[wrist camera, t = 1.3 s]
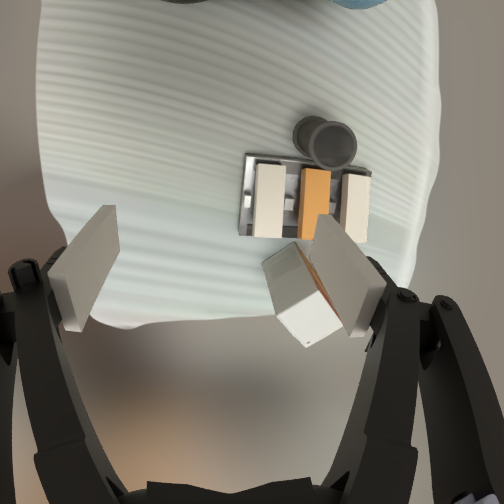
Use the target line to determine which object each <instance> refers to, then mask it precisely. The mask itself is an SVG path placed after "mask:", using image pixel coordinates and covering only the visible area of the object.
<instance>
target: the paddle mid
mask: <svg viewBox="0 0 504 504" xmlns="http://www.w3.org/2000/svg"><path fill="white" fill-rule="evenodd" d="M330 181H331V171H325V170H318V169H309V168H305V169H302V170H301V187H300V203H299V218H298V233H297V238H300V239H306V240H313V238H314V233H315V228H316V223H317V218H318V214H326V215H328V214H329V199H330Z"/></svg>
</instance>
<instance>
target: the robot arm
mask: <svg viewBox="0 0 504 504" xmlns="http://www.w3.org/2000/svg"><path fill="white" fill-rule="evenodd" d="M163 1H166V2H171V3H179V4H189V3H198V2H203V1H207V0H163ZM329 1H332V2H334V3H336V4H338V5H340V6H342V7H345V8H348V9H367V8H371V7H374V6H377V5H379V4H381V3H383V2H385V1H387V0H329ZM119 252H120V246H119V237H118V227H117V216H116V205H102V207H101V208H100V209H99V210H98V211H97V212H96V213H95V214H94V216H93V217H92V218H91V219H90V220H89V221H88V222H87V224H86V225H85V226H84V227H83V228H82V230H81V231H80V232H79V233H78V234H77V236H76V237H75V238H74V239H73V240H72V242H71V243H70V244H69V245H68V247H61V248H60V249H58V250H57V251H56V252H54V253H53V255H52V256H51V257H50V259H49V260H48V261H47V262H46V264H45V265H44V266H43V267H42V269H41V270H40V269H39V266H38V263H37V261H36V260H34V259H23V260H20V261H18V262H16V263H14V264H13V265H12V266H11V267H10V268H9V270H8V274H9V277H10V280H11V283H12V286H13V289H14V292H10V293H3V294H1V291H0V504H16V500H15V488H14V478H13V464H12V408H13V394H14V383H15V374H16V366H17V359H19V366H20V373H21V379H22V385H23V391H24V396H25V401H26V406H27V410H28V415H29V419H30V422H31V427H32V430H33V434H34V438H35V441H36V445H37V449H38V453H36V454H34V463H35V467H36V470H37V472H38V476H39V478H40V481H41V484H42V487H43V489H44V492H45V494H46V497H47V499H48V502H49V504H408V503H409V499H410V494H411V490H412V485H413V480H414V475H415V471H416V465H417V459H418V451H417V448H415V447H412V446H411V436H412V430H413V423H414V415H415V406H416V397H417V386H418V382H419V387H420V392H421V398H422V404H423V409H424V416H425V422H426V429H427V437H428V445H429V454H430V463H431V476H432V490H433V499H434V504H504V418H503V415H502V411H501V408H500V405H499V402H498V399H497V396H496V393H495V390H494V387H493V385H492V382H491V379H490V376H489V374H488V372H487V369H486V366H485V364H484V361H483V359H482V356H481V354H480V351H479V349H478V347H477V344H476V342H475V340H474V338H473V336H472V333H471V331H470V329H469V327H468V325H467V323H466V320H465V318H464V316H463V314H462V312H461V310H460V308H459V306H458V305H457V304H456V302H455V301H453V299H451V298H449V297H447V296H443V295H437V296H435V298H434V300H433V302H432V304H428V303H423V302H419V298H418V297H417V295H416V294H415V293H413V292H412V291H410V290H408V289H406V288H401V287H397V285H396V284H395V283H394V282H393V280H392V279H391V278H390V277H389V275H388V274H387V273H386V272H385V270H384V269H383V268H382V267H381V266H380V264H379V263H378V262H377V261H375V260H374V259H372V258H371V257H369V256H365V255H364V254H363V252H362V251H361V250H360V249H359V247H358V246H357V245H356V244H355V243H354V241H353V240H352V239H351V238H350V237H349V235H348V234H347V233H346V232H345V231H344V229H343V228H342V227H341V226H340V225H339V224H338V222H337V221H336V220H335V219H334V218H333V217H332V215H326V214H318V218H317V223H316V228H315V233H314V238H313V243H312V247H311V252H310V257H309V258H310V260H311V262H312V264H313V266H314V267H315V269H316V271H317V273H318V275H319V277H320V279H321V281H322V283H323V285H324V287H325V289H326V291H327V293H328V295H329V297H330V299H331V301H332V303H333V305H334V307H335V309H336V311H337V313H338V315H339V317H340V319H341V321H342V323H343V325H344V327H345V329H346V331H347V333H348V335H349V337H360V336H365V335H366V333H367V330H368V328H369V326H371V328H372V329H373V331H374V332H373V335H372V337H371V339H370V341H369V343H368V345H367V347H366V349H365V352H367V351H368V352H367V356H366V360H365V364H364V368H363V371H362V375H361V379H360V382H359V386H358V390H357V393H356V397H355V400H354V403H353V406H352V410H351V413H350V416H349V419H348V422H347V425H346V428H345V431H344V434H343V437H342V440H341V443H340V445H339V448H338V451H337V453H336V456H335V459H334V461H333V464H332V466H331V469H330V471H329V473H328V475H327V476H326V478H325V479H324V481H323V483H322V484H321V486H319V485H312V482H311V478H310V477H307V478H300V479H293V480H286V481H277V482H271V483H267V484H265V485H261V486H258V487H255V488H252V489H248V490H245V491H241V492H237V493H232V494H228V493H222V492H217V491H213V490H208V489H204V488H200V487H196V486H192V485H188V484H172V483H161V482H150V481H147V489H141V490H136V491H132V492H128V491H127V489H126V488H125V487H124V485H123V483H122V482H121V481H120V479H119V478H118V476H117V474H116V473H115V471H114V469H113V467H112V465H111V463H110V462H109V460H108V458H107V456H106V454H105V452H104V450H103V447H102V445H101V444H100V441H99V439H98V437H97V435H96V433H95V430H94V428H93V426H92V424H91V421H90V419H89V416H88V414H87V411H86V409H85V406H84V404H83V401H82V399H81V396H80V393H79V391H78V388H77V385H76V382H75V379H74V376H73V374H72V370H71V367H70V364H69V361H68V358H67V354H66V351H65V347H64V344H63V340H62V337H61V333H60V330H59V328H58V325H59V324H60V322H61V320H62V322H63V324H64V327H65V330H68V331H76V332H82V330H83V327H84V325H85V323H86V320H87V318H88V316H89V314H90V311H91V309H92V307H93V305H94V303H95V300H96V298H97V296H98V294H99V292H100V290H101V288H102V286H103V284H104V282H105V280H106V277H107V275H108V273H109V271H110V269H111V268H112V266H113V264H114V262H115V260H116V258H117V256H118V254H119ZM440 344H441V345H440Z"/></svg>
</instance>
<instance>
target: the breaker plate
mask: <svg viewBox="0 0 504 504" xmlns="http://www.w3.org/2000/svg"><path fill="white" fill-rule="evenodd" d="M259 163H260V164H271V165H282V166H286V177H285V194H284V210H283V225H282V237H284V238H297V233H298V218H299V203H300V187H301V170H302V169H305V168H309V169H318V170H325V171H330V170H326V169H323V168H321V167H320V166H318V165H317V164H316V163H315V162H314V161H313V160H305V159H296V158H287V157H277V156H267V155H256V154H245V163H244V173H243V183H242V193H241V203H240V214H239V225H238V232H239V235H241V236H252V230H253V213H254V196H255V180H256V165H258V164H259ZM345 174H354V175H360V176H367V177H371V174H372V172H371V171H369V170H368V169H366V168H360V167H354V166H346V167H345V168H343V169H341V170H337V171H331V181H330V199H329V214H328V215H332V217H333V218H334V219H335V220H336V221H337V222H338V224H339V225H340V211H341V196H342V176H343V175H345Z"/></svg>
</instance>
